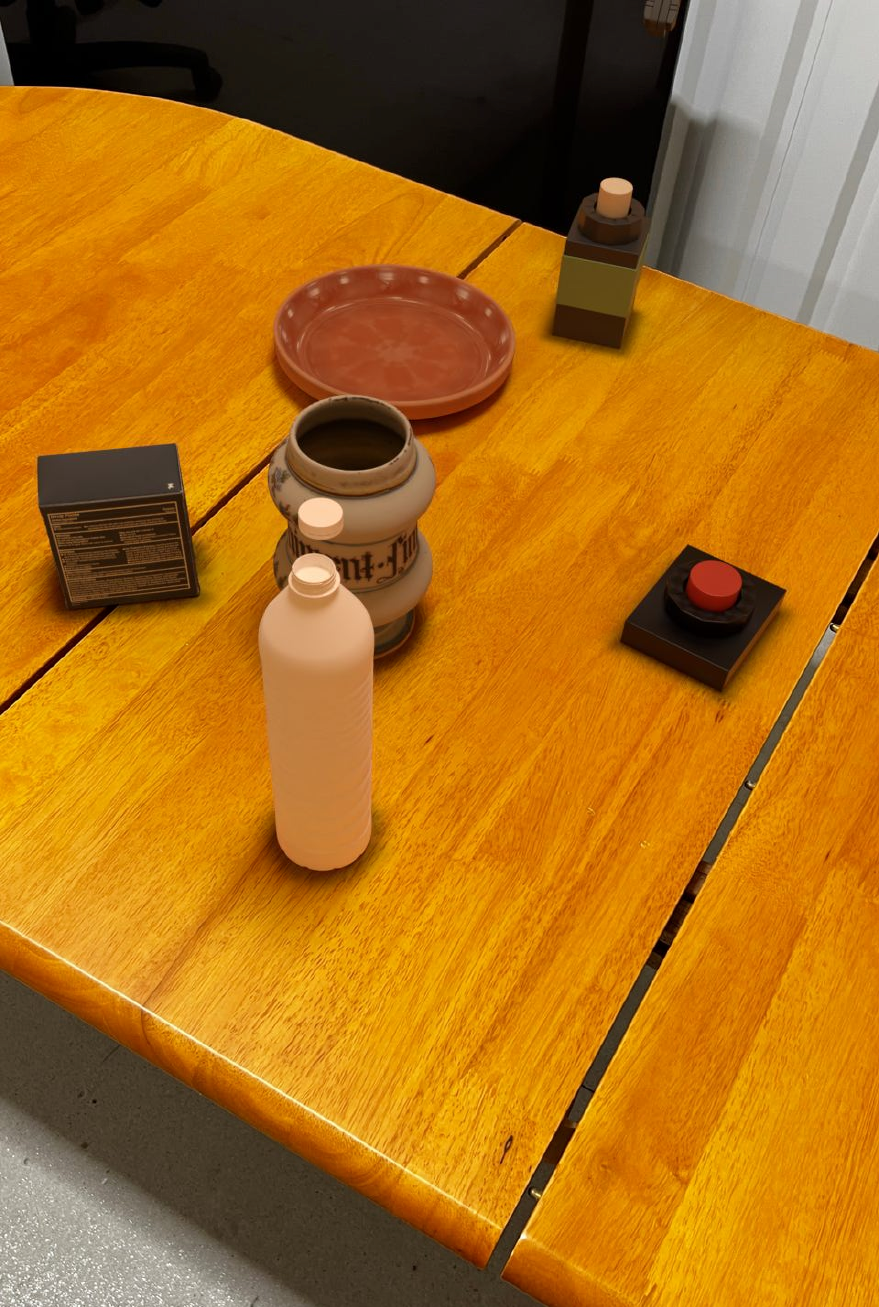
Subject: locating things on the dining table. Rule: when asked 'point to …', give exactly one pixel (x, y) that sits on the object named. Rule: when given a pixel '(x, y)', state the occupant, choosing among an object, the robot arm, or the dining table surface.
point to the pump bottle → (606, 245)
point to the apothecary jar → (360, 506)
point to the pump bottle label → (598, 285)
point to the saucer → (395, 338)
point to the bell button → (713, 586)
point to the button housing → (701, 623)
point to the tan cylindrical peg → (614, 198)
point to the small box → (118, 525)
